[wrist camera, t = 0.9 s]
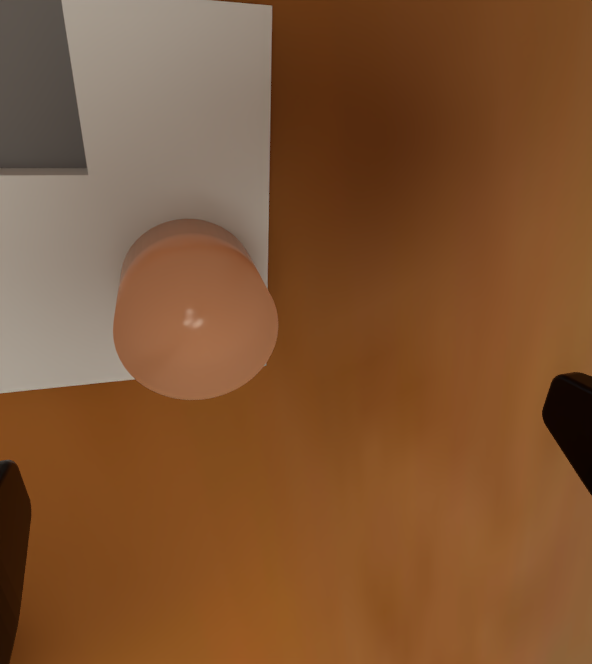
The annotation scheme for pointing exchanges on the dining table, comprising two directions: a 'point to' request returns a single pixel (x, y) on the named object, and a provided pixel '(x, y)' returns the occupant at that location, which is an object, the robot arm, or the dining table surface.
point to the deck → (118, 160)
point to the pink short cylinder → (192, 311)
